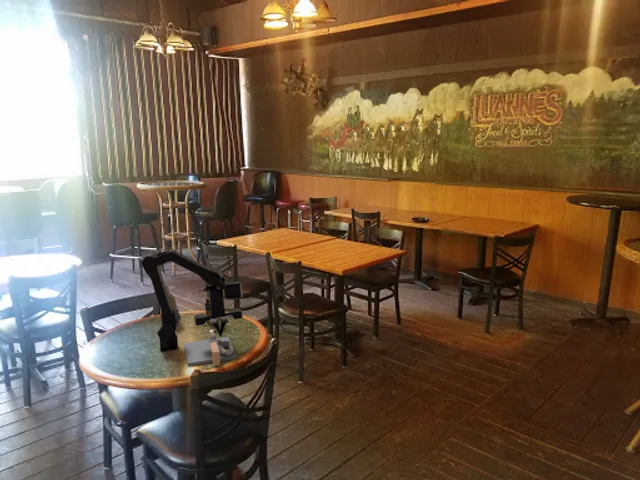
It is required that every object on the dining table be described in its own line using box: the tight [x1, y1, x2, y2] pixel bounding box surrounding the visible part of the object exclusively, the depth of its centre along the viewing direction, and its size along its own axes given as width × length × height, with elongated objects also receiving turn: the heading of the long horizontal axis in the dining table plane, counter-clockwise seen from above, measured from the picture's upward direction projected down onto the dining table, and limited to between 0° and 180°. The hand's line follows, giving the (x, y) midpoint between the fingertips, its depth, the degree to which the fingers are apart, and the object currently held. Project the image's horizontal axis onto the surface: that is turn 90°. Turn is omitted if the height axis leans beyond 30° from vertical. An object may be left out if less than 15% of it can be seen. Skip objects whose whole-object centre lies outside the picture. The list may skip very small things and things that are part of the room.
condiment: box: [200, 296, 220, 327], centre depth 229 cm, size 7×8×12 cm
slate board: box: [183, 336, 237, 367], centre depth 198 cm, size 18×20×1 cm
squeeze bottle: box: [159, 284, 178, 318], centre depth 230 cm, size 8×8×18 cm
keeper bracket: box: [209, 342, 221, 367], centre depth 190 cm, size 2×10×6 cm, turn 19°
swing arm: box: [208, 329, 234, 356], centre depth 198 cm, size 17×5×5 cm, turn 35°
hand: (220, 336), depth 204 cm, fingers closed
